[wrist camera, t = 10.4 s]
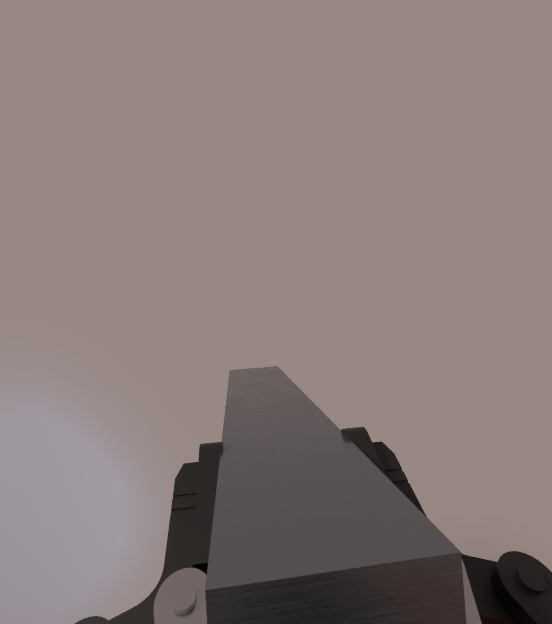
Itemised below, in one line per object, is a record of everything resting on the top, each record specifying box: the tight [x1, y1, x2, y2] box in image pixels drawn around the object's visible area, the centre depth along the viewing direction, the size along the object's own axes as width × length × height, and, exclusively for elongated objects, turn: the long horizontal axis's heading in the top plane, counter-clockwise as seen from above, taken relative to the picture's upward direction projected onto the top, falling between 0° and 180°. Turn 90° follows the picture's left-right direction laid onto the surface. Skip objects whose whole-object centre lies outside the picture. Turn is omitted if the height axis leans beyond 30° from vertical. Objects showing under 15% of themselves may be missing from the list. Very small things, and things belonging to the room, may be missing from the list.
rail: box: [205, 366, 467, 624], centre depth 18 cm, size 4×25×4 cm, turn 6°
